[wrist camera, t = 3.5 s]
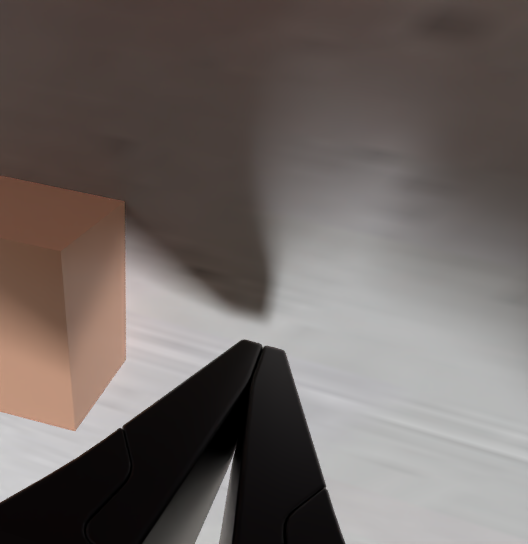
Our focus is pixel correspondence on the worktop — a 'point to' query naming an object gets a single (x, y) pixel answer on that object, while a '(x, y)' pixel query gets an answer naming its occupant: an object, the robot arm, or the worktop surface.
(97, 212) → the tile
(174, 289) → the worktop surface
